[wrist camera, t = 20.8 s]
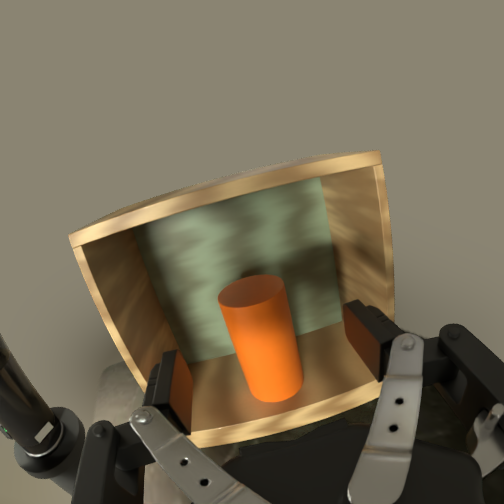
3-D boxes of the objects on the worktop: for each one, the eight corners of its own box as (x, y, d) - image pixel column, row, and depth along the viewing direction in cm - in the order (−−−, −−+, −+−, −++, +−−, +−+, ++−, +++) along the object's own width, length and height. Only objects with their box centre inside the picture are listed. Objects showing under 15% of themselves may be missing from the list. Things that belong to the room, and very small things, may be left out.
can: (253, 408, 24) (217, 314, 20) (246, 372, 29) (217, 284, 26) (310, 392, 24) (291, 294, 21) (296, 358, 29) (276, 268, 26)
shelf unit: (185, 450, 23) (67, 234, 16) (190, 378, 34) (120, 208, 27) (389, 392, 24) (380, 149, 17) (347, 334, 35) (319, 154, 28)
